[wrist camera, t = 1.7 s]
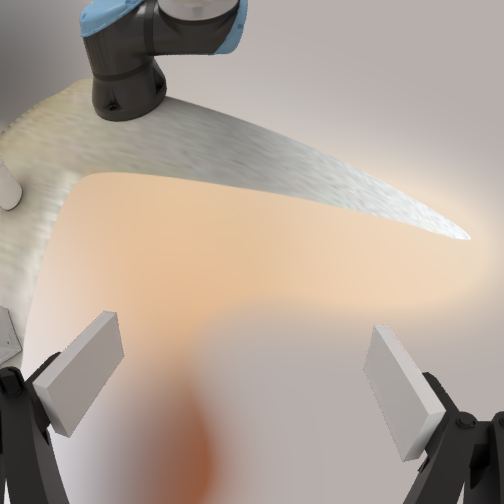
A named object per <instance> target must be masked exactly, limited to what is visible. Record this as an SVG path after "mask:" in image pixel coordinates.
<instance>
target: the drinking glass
mask: <svg viewBox="0 0 504 504" xmlns="http://www.w3.org/2000/svg"><path fill="white" fill-rule="evenodd" d="M21 196H22V188H21V186H20V184H19V183H18V182H17V181H16V180H15V178H14V177H13V175H12V174H11V172H10V171H9V169H8V168H7V166H6V165H5V163H4V161H3V160H2V158H1V157H0V206H1V207H2V208H3V209H5V210H9V209H12V208H13V207H15V206H16V205H17V204H18V202H19V201H20V199H21Z"/></svg>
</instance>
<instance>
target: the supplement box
mask: <svg viewBox="0 0 504 504" xmlns="http://www.w3.org/2000/svg"><path fill="white" fill-rule="evenodd" d="M21 350H22V349H21V346H20V344H19V342H18V339H17V337H16V334H15V332H14V329H13V326H12V323H11V320H10V316H9V313H8V310H7V309H6V308H4V307H1V306H0V365H1V364H2V363H3V362H5V361H6V360H8V359H9V358H11V357H12V356H14V355H15V354H17V353H18V352H20V351H21Z"/></svg>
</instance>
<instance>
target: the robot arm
mask: <svg viewBox="0 0 504 504" xmlns="http://www.w3.org/2000/svg"><path fill="white" fill-rule="evenodd" d="M247 7H248V0H95V1H93V2H92V3H90V4H89V5H88V6H87V7H86V8H85V9H84V10H83V11H82V13H81V15H80V27H81V37H83V41H84V44H85V48H86V52H87V55H88V59H89V62H90V66H91V69H92V72H93V75H94V78H93V89H92V103H93V106H94V108H95V111H96V113H97V114H98V115H99V116H100V117H102V118H104V119H107V120H112V121H123V120H129V119H133V118H136V117H139V116H142V115H144V114H146V113H148V112H149V111H151V110H153V109H154V108H155V107H156V106H158V105H159V104H160V102H161V101H162V100H163V99H164V97H165V95H166V89H167V87H166V79H165V76H164V74H163V72H162V71H161V69H160V68H159V66H158V64H157V62H156V60H155V59H154V56H159V55H186V54H187V55H189V54H190V55H192V54H193V55H215V54H228V53H231V52H233V51H234V50H235V49H236V48H237V46H238V44H239V42H240V39H241V36H242V33H243V28H244V27H243V26H244V24H245V20H246V15H247ZM123 357H124V353H123V348H122V343H121V337H120V331H119V325H118V319H117V313H116V312H108V311H103V313H101V314H100V315H99V316H98V317H97V318H96V319H95V320H94V321H93V322H92V323H91V324H90V325H89V326H88V327H87V328H86V329H85V330H84V331H83V332H82V333H81V334H80V335H79V336H78V337H77V338H76V339H75V340H74V341H73V342H72V343H71V344H70V345H69V346H68V347H67V348H66V349H65V350H64V351H63V352H57V353H55V354H54V355H52V356H50V357H49V358H48V359H47V360H46V361H45V362H44V364H42V365H41V366H40V368H38V369H37V370H36V371H35V372H34V373H33V374H32V375H31V376H30V377H29V378H28V379H27V380H26V381H24V379H23V376H22V374H21V371H20V370H19V369H18V368H16V367H5V368H2V369H1V370H0V504H4V493H5V482H6V481H7V487H8V493H9V498H10V504H69V501H68V498H67V496H66V493H65V490H64V487H63V483H62V481H61V477H60V474H59V470H58V466H57V463H56V459H55V455H54V451H53V447H52V444H51V439H50V434H49V432H48V430H47V427H48V426H49V424H50V423H51V425H52V427H53V429H54V431H55V432H56V433H58V434H61V435H63V436H66V437H69V438H70V436H71V435H72V433H73V431H74V430H75V428H76V427H77V425H78V424H79V422H80V421H81V419H82V418H83V416H84V415H85V413H86V411H87V410H88V408H89V407H90V406H91V404H92V403H93V401H94V400H95V398H96V397H97V395H98V393H99V392H100V391H101V389H102V387H103V386H104V385H105V383H106V382H107V380H108V379H109V377H110V376H111V374H112V373H113V372H114V370H115V369H116V367H117V366H118V364H119V363H120V362H121V360H122V359H123ZM364 372H365V374H366V376H367V378H368V381H369V383H370V385H371V387H372V390H373V392H374V394H375V397H376V399H377V401H378V403H379V406H380V408H381V411H382V413H383V415H384V418H385V420H386V422H387V425H388V427H389V430H390V432H391V435H392V437H393V439H394V442H395V444H396V447H397V449H398V452H399V454H400V457H401V459H402V462H405V461H409V460H414V459H418V458H419V457H420V455H421V454H422V452H423V451H424V449H425V451H426V453H427V455H428V456H427V458H426V459H425V461H424V462H423V464H422V465H421V467H420V468H419V470H418V471H419V474H418V476H417V478H416V480H415V482H414V484H413V486H412V488H411V490H410V491H409V493H408V495H407V497H406V499H405V501H404V503H403V504H457V501H458V498H459V496H460V493H461V490H462V487H463V484H464V481H465V485H464V499H463V504H504V411H503V412H498V413H496V414H495V416H494V418H493V419H492V421H477V419H476V418H475V417H474V416H473V415H472V414H469V413H467V412H460V411H459V410H458V409H457V407H456V406H455V404H454V403H453V401H452V400H451V398H450V397H449V395H448V394H447V393H445V390H444V388H443V387H441V384H440V383H439V381H438V380H437V378H435V377H434V376H433V375H431V374H430V373H429V372H425V373H421V372H420V371H419V369H418V367H417V366H416V365H415V363H414V362H413V360H412V359H411V357H410V356H409V354H408V353H407V352H406V350H405V349H404V347H403V346H402V345H401V343H400V342H399V340H398V339H397V337H396V336H395V335H394V333H393V332H392V331H391V329H390V328H389V327H388V325H376V326H374V328H373V333H372V337H371V342H370V346H369V350H368V354H367V358H366V362H365V366H364Z"/></svg>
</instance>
